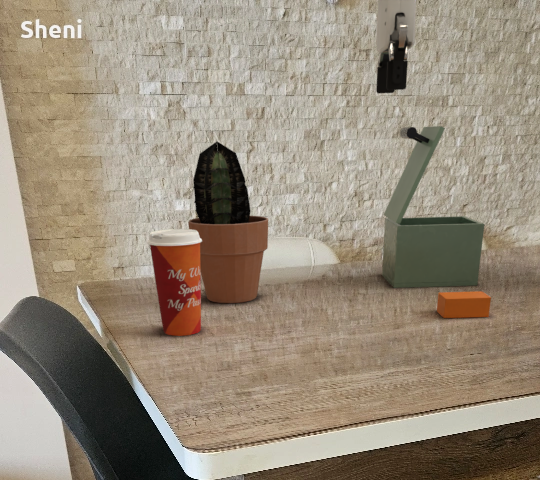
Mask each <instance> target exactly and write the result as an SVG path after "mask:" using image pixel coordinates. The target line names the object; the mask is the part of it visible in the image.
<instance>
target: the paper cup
mask: <svg viewBox="0 0 540 480" xmlns="http://www.w3.org/2000/svg"><path fill="white" fill-rule="evenodd" d="M200 242H202V239H201V238H200V237H199V233H198V231H197V230H191V229H189V228H169V229H159V230H154V231H150V233H149V239H148V240H147V242H146V243H147V245H149V248H150V255H151V261H152V267H153V274H154V275H153V276H154V281H155V287H156V293H157V300H158V306H159V313H160V319H161V325H162V329H163V333H164V334H165V335H169V336H176V337H177V336H179V337H181V336H191V335H195V334H198V333H199V332H200V331H201V329H202V287H201V286H202V285H201V284H202V281H201V280H202V276H201V272H200Z"/></svg>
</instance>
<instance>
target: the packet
mask: <svg viewBox="0 0 540 480" xmlns="http://www.w3.org/2000/svg"><path fill="white" fill-rule="evenodd" d="M491 303H492V297H491V296H489V295H488V294H487V293H485V292H484V291H481V290H479V291H452V292H451V291H450V292H449V291H448V292H445V291H443V292H438V293H437V304H436V312H437V314H439V315H440V316H441V317H442V318H443V319H465V318H468V319H469V318H489V317H490V309H491Z"/></svg>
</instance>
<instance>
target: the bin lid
mask: <svg viewBox="0 0 540 480" xmlns="http://www.w3.org/2000/svg"><path fill="white" fill-rule="evenodd" d="M445 129H446V127H444V126H441V125H437V126H436V125H435V126H423V127H422V130H421V131H420V133H418V130H417V128H416V127H414V126H406V127H405V126H404V127H402V128H401V129H400V131H399V136H400V138H402V139H404V140H406V139H407V140H408V139H409V140H414V141H416V143H415V145H414V147H413V149H412V151H411V154H410V156H409V158H408V160H407V163H406V164H405V167H404V169H403V171H402V173H401V176H400V177H399V180H398V182H397V184H396V186H395V189H394V191H393V193H392V195H391V197H390V200H389V202H388V204H387V205H386V209H385V210H384V212H383V216H384V217H385V218H389V219H391V220H392V221H394V222H396V223H398V224H400V223H401V220H402V218H404V216H405V214H406V211H407V210H408V209H409V205H410V203H411V201H412V199H413V197H414V194H415V193H416V190H417V189H418V186H419V185H420V182H421V180H422V178H423V176H424V174H425V172H426V169H428V168H427V167H428V165H429V163H430V161H431V159H432V157H433V155H434V152H435V150H436V148H437V147H438V145H439V142H440V139H441V138H442V136H443V134H444V131H445Z"/></svg>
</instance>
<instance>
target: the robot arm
mask: <svg viewBox="0 0 540 480" xmlns="http://www.w3.org/2000/svg"><path fill="white" fill-rule="evenodd" d="M416 12H417V0H377V13H376V51H377V52H378V54H379V55H378V60H377V67H376V68H377V69H376V88H375V89H376V91H375V92H376V93H377V94H394V93H395V92H396V91H404V90H406V89H407V81H408V63H409V61H408V58H409V57H408V56H409V52H408V51H409V50H410V49H412V48H413V47H414V45H415V42H416V18H417V17H416V15H417V14H416Z"/></svg>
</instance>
